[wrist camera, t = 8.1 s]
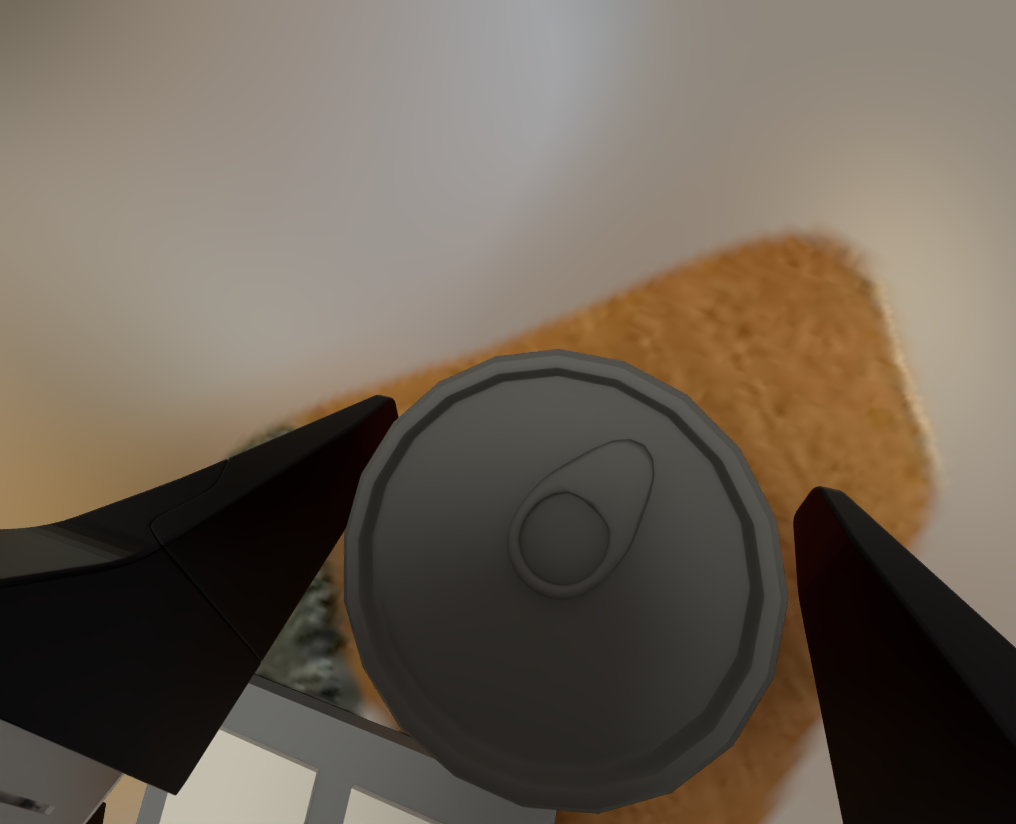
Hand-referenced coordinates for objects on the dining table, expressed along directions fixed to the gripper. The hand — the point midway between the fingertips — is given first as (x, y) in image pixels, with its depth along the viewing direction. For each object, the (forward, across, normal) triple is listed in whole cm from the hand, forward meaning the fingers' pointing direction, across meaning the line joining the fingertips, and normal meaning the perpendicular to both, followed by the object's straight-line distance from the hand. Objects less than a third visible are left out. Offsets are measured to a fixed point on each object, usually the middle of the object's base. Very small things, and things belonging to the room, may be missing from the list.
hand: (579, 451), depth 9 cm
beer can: (+5, 0, +7) cm, 8 cm away
